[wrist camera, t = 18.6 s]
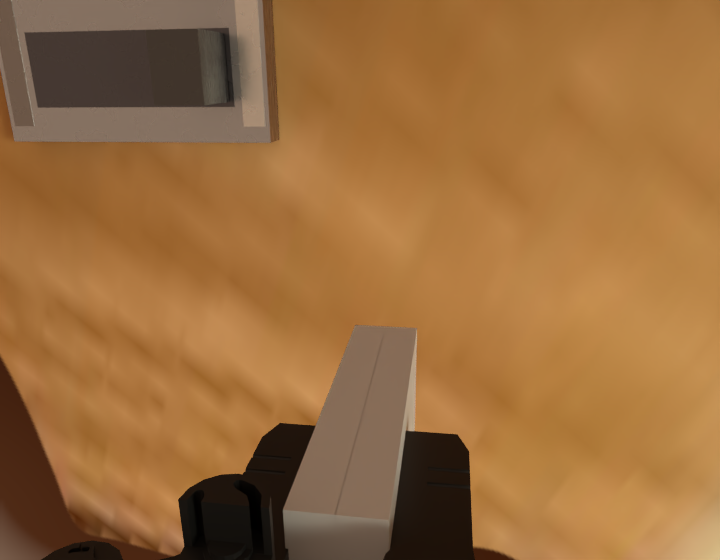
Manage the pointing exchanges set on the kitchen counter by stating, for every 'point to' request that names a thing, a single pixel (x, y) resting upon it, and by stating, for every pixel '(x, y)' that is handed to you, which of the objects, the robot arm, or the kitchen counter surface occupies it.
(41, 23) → the breaker panel
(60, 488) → the kitchen counter surface
